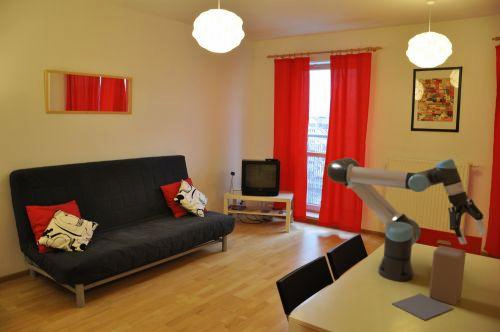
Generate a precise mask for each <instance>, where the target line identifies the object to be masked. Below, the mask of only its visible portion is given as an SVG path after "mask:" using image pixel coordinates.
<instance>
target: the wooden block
mask: <svg viewBox="0 0 500 332" xmlns="http://www.w3.org/2000/svg"><path fill="white" fill-rule="evenodd" d="M432 252H433V253H432V262H431V271H430V282H429V293H428V297H429V298H432V299H434V300H436V301H438V302H441V303H444V304H445V303H446V304H450V305H452V306H454V305H455V306H456V304H457V303H458V302H459V300H460V298H461V297H462V290H463V289H462V288H463V281H464V273H465V265H466V263H465V262H466V254H467V252H466V251H465V250H464V249H460V248H459V249H458V248H453V247H449V246H446V245H445V246H444V245H439V246H438V247H437V248H435V249H434V251H432Z"/></svg>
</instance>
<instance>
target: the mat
mask: <svg viewBox="0 0 500 332" xmlns="http://www.w3.org/2000/svg"><path fill="white" fill-rule="evenodd" d="M391 305H392V306H395V307H396V308H398V309H400V310H402V311H405V312H406V313H407V314H410V315H412V316H414V317H416V318H418V319H420V320H422V321H424V322H425V321H427V320H430V319H431V318H432V319H433V318H435V317H437V316H440V315H443V314H444V313H447V312H450V311H452V310H454V307H452V306H450V305H447V304H445V303H444V302H442V301H439V300H435V299H432V298H430V297H429V296H428V295H427V296H426V295H424V294H422V293H419V294H416V295H412V296H409V297H406V298H404V299H401V300H397V301H395V302H391Z"/></svg>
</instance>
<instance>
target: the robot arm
mask: <svg viewBox="0 0 500 332" xmlns="http://www.w3.org/2000/svg"><path fill="white" fill-rule="evenodd" d="M459 173H460V172H459V170H458V167H457V166H456V164H455V161H454V159H453V158H447V159H444V160H440V161H438V162H436V163H435V167H433V168H429V169H426V170H422V171H418V172H408V171H398V170H389V169H381V168H372V167H371V168H370V167H363V166H360V164H359V162H358V161H357V160H356V159H354V158H351V157H342V158H341V159H340V158H338V159H336V160H335V159H334V160H332V161H331V162H330V163H329V164H328V165H327V169H326V175H327V177H328V178H329V180H330V181H331V182H333V183H337V184H343V186H344V187H345V189H351V190H352V191H353V192H354V193H355V194H356V195H357V196H358V197H359V198H360V199H361V200H362V201H363V202H364V204H365V205H366V206H367V207H368V208H369V209H370V210H371V211H372V212H373V213H374V214H375V215H376V216H377V218H378V219H379V220H381V222H382V223H383V224H384V225H385V226H384V229H385V231H384V234H385V235H384V247H383V249H384V250H383V256H382V258H381V261H380V263H379V264H378V265H379V266H378V270H377V272H378V274H379V275H380V276H382V277H383V278H385V279H387V280H388V279H389V280H392V281H398V282H407V281H412V280H413V279H414V269H413V265H412V261H411V259H412V250H413V249H412V248H413V246H414V244H415V243H417V242H418V241H419V239H420V236H421V227H420V225H419V224H418V223H417V222H416V221H415V220H413V219H412V218H409V217H408V216H407V215H406V214H405V213H404V212H399V211H398V210H397V209H396V208H395V207H394V206H393V205H392V204H391V203H390V202H389V201H388V200H387V199H386V198H385V197H384V196H383V195H382V194H381V193H380V192H379V191H378V190H377V189H376V188H375V187H374V186H380V187H386V188H387V187H388V188H397V189H398V188H399V189H406V190H411V191H413V192H415V193H416V192H417V193H421V192H424V191H426V190H427V189H428V188H430V187H434V186H436V185H439V184H442V185H443V188H444V190H445V194H446V195H448V196H447V198H448V201H449V204H452V206H450V207H448V208H447V209H448V212H449V213H448V214H449V230H451V231H454V232H455V235H456V237H457V239H458V242H459V244H460V245H467V244H468V243H467V240H466V237H465V235H464V231H463V230H462V228H461V222H462V216H463V215H464V214H465V213H467V214H468V215H469V216H471V217H472V218H473V219H474V224H475V226H476V229H477V232H478V234H479V235H481V236H482V235H486V234H487V233H486V229H485V228H484V224H483V221H482V220H483V219H484V216H485V215H484V214H483V213H482V211H481V210H480V209H479V207H478V206H477V205H476V204H475V202H474V201H473V199H471V198H470V199H469V198H468V194H467V192H466V191H465V187H464V184H463V182H462V179H461V176H460V174H459ZM373 185H374V186H373Z"/></svg>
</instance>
